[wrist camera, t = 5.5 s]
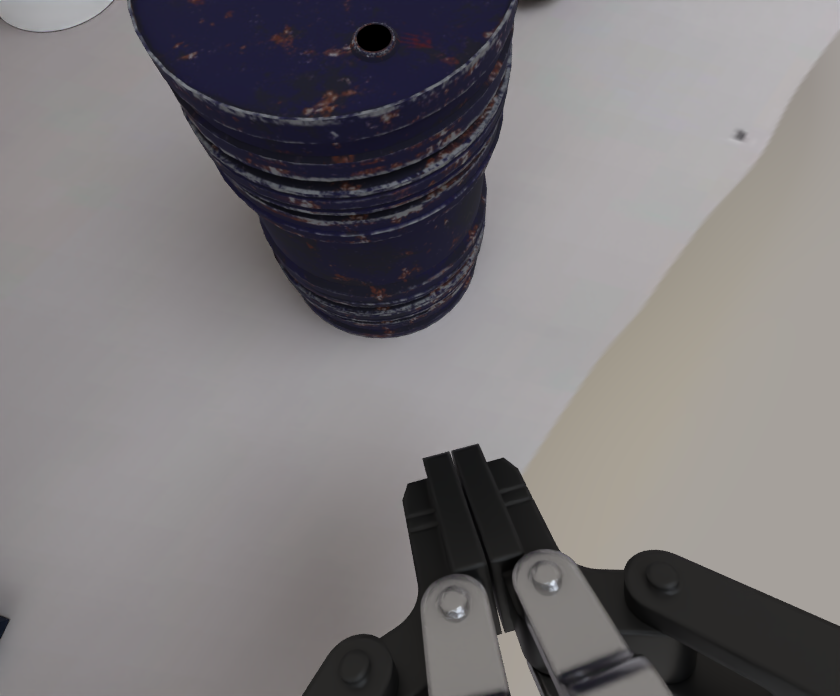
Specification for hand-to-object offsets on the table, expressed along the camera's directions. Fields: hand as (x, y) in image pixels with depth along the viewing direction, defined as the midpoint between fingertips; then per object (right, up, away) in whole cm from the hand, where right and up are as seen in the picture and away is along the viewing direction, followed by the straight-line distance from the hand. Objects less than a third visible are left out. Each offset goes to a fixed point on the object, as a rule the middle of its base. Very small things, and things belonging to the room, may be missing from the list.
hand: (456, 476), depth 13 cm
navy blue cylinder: (-3, +8, +14) cm, 16 cm away
